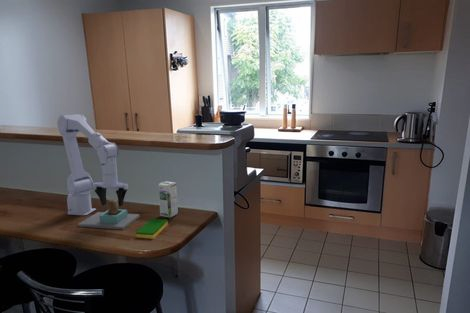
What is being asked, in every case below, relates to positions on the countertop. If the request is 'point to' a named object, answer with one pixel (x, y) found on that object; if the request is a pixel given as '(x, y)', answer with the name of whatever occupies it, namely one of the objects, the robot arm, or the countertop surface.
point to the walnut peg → (113, 207)
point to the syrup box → (168, 199)
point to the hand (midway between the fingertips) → (112, 205)
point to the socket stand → (109, 220)
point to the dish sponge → (151, 228)
